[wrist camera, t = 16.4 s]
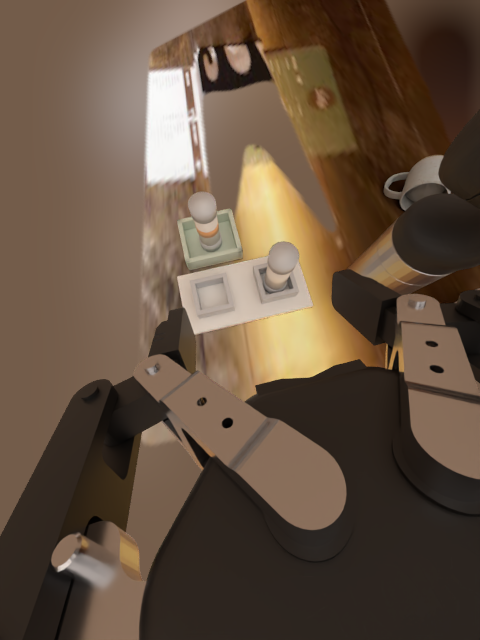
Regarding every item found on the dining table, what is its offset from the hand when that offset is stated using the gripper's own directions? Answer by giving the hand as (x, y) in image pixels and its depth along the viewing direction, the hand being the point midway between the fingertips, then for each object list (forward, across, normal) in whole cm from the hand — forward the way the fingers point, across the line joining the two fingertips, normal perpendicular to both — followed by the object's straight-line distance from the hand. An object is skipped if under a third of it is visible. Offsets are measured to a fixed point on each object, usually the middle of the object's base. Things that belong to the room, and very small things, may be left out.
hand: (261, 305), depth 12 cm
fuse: (+29, -8, +13) cm, 33 cm away
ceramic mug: (+39, -41, +5) cm, 57 cm away
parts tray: (+38, +2, +5) cm, 39 cm away
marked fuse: (+38, +2, +5) cm, 38 cm away
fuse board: (+30, -2, +13) cm, 33 cm away
